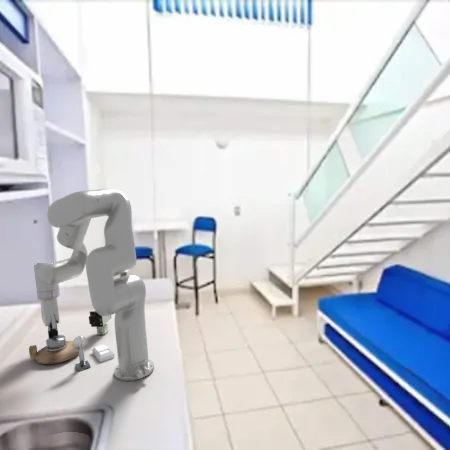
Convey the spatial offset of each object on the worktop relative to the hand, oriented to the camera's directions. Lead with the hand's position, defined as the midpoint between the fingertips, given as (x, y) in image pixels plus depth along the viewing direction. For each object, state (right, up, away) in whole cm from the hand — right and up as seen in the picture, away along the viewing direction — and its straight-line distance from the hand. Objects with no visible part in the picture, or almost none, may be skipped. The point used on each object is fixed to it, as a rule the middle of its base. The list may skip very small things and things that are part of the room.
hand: (53, 339), depth 142 cm
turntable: (+4, -3, -6) cm, 8 cm away
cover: (+3, -2, -4) cm, 5 cm away
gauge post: (+17, -5, -15) cm, 23 cm away
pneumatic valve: (+14, -1, +12) cm, 19 cm away
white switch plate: (+21, -4, -7) cm, 23 cm away
